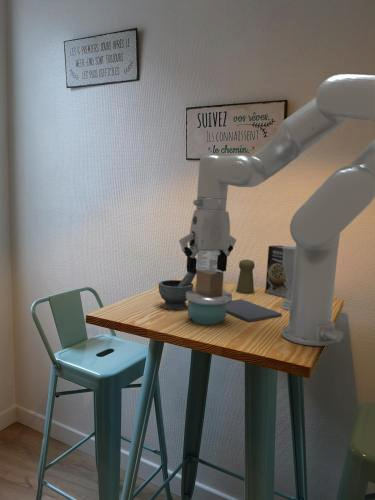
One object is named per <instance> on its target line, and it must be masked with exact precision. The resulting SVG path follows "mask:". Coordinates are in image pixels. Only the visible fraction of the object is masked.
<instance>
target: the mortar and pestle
mask: <svg viewBox="0 0 375 500" xmlns="http://www.w3.org/2000/svg"><path fill="white" fill-rule="evenodd" d="M196 275H197V268H196V273H195V274H192V273H189V272H187V271H186V274H185V275H184V277H183V278H182V279H180V280H179V279H167V280H161V281H160V282H158V293H159V295H160V297H161V299H163V300H164V305H163V307H164V308H166V309H168V310H174V311H175V310H176V311H177V310H179V311H180V310H184V309H185V308H186V306H187V303H186V301H188V300H186V292H188V291H190V290H194V284H193V283H192V282H193V280H194V278H196Z"/></svg>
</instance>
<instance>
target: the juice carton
mask: <svg viewBox="0 0 375 500" xmlns="http://www.w3.org/2000/svg"><path fill="white" fill-rule="evenodd" d="M218 255H220V253H219V251H218V250H217V251H201V250H200V251H199V252H198V253H197V255H196V258H197V264H196V269H197V270H205V269H210V270H214V271H217V272H221V273H223V277H224V274H225V271H221V270H218V269H217V260H218ZM195 278H196V279H195V280H197V274H196V275H195Z"/></svg>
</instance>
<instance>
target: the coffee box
mask: <svg viewBox="0 0 375 500" xmlns="http://www.w3.org/2000/svg"><path fill="white" fill-rule="evenodd" d="M284 246H285V245H268V249H267V250H268V252H267V266H266V267H267V268H266V275H265V276H266V279H265V292H266V293H265V294H269V293H270V294H269V295H273V296H276V295H277V297H281V298H285V299H288V296H289V293H288V291H289V286H288V285H289V283H290V279H289V278H287V276H286V274H285V271H284V268H283V264H282V263H283V249H282V247H284Z"/></svg>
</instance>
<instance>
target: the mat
mask: <svg viewBox="0 0 375 500" xmlns="http://www.w3.org/2000/svg"><path fill="white" fill-rule="evenodd" d="M226 314H228V315H231V316H232V317H234V318H238V319H239V320H242V321H245V322H247V323H253V322H259V321H264V320H269V319H275V318H279V317H282V315H283V313H282V312H278V311H275V310H273V309H271V308H267V307H264V306H262V305H259V304H255V303H252V302H250V301H248V300H246V299H234V300H233V299H232V301H231V302H230V303H228V304H227V307H226Z"/></svg>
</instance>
